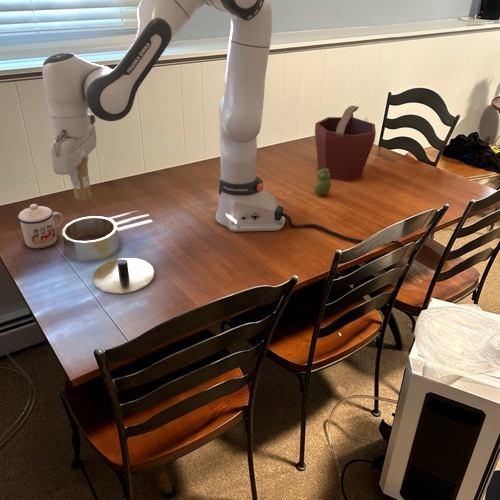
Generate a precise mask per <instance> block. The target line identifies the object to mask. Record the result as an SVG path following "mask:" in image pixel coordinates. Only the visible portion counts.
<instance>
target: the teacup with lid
mask: <svg viewBox="0 0 500 500" xmlns="http://www.w3.org/2000/svg"><path fill="white" fill-rule="evenodd" d="M55 216H58V222H57V223H56V224H55V220H54V217H55ZM17 219H18V220H19V223H20V227H21V231H22V235H23V239H24V243H25V245H26V246H27V247H29V248H31V249H44V248H47V247H51V246H52V245H54V244H55V243H56V242H57V239H58V236H57V229H59V228H60V227H61V226H62V224H63V221H64V216H63V214H62V213H61V212H58V211H54V212H53V210H52V209H51V208H50V207H48V206H44V205H38V204H37V203H32V204H30V205H29V207H26V208H24V209H22V210H21V211H19V214H18V215H17Z"/></svg>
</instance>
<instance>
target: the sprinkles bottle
mask: <svg viewBox="0 0 500 500" xmlns="http://www.w3.org/2000/svg"><path fill="white" fill-rule="evenodd" d="M80 153H81V158H82V162H81V163H80V164H79V165H78V166H77V167H76V168H77V170H76V172H77V174H79V176H80V177H79V178H80V180H79V181H78V182H77V183H73V182H71V183H72V188H73V192H74V198H75V199H76V200H80V201H85V200H89V199H91V198H92V196H93V193H92V189H91V182H90V181H91V180H90V176H89V169H88V170H87V167H88V165H86V160H85V149H84V148H83V149H82V150H81V151H80Z"/></svg>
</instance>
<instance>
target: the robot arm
mask: <svg viewBox="0 0 500 500" xmlns="http://www.w3.org/2000/svg"><path fill="white" fill-rule="evenodd" d="M204 5H208V6H210V7H212V8H214V9H215V10H218V11H220V12H223V13H228V15H229V19H230V32H229V38H228V46H227V54H226V62H225V71H224V72H225V74H224V75H225V76H224V92H223V96H222V97H221V99H220V102H219V107H218V112H219V113H218V115H219V116H218V118H219V120H218V121H219V149H220V150H219V151H220V158H219V159H220V170H219V171H220V174H219V177H218V194H219V198H218V204H217V209H216V213H215V215H214V218H215V220H216V222H217V223H219V224H220V225H222V226H224V227H226V228H227V229H229V231H231V232H237V233H238V232H241V233H242V232H267V231H268V232H269V231H280V230H281V229H283V228H284V227H285V223H286V220H287V222H288V225H289V227H291V228H292V229H301V228H302V229H303V228H315V229H319V230H321V231H323V232H326V233H328V234H329V235H333V236H335V237H338V238H340V239H343V240H346V241H349V242H353V243H359V244H360V242H362V241H363V240H364V239H359V238H353V237H350V236H347V235H343V234H341V233H338V232H336V231H333V230H331V229H328V228H326V227H324V226H322V225H319V224H315V223H304V224H299V225H297V224H294V223H292V217H290V216H289V215H288V214H286V213H285V211H284V208H285V207H284V206H280V205H279V203H278V200H277V198H276V197H275V195H274V194H272V193H271V192H269V191H268V190H266V189H265V188H264V182H263V177H262V176H260V177H259V176H258V175H257V169H258V167H257V165H258V141H257V138H258V135H259V134H260V132H261V129H262V128H261V127H262V123H263V122H262V120H263V111H264V102H265V101H264V100H265V88H266V86H265V85H266V75H267V68H268V63H269V57H270V56H269V55H270V50H271V49H270V48H271V44H272V43H271V42H272V34H273V8H272V5H271V3H270V2H269V1H268V0H141V1H140V3H139V5H138V7H137V22H138V23H137V25H138V26H137V27H138V29H137V33H136V37H135V39H134V41H133V42H132V43H131V45H130V47H129V48H128V49H127V51H125V53H124V55H123V56H122V58H121V59H120V60H119V62H118V63H117V65H116V66H115V67H114V68H113V69H112V68H110V67H108V66H105V65H101V64H97V63H93V62H90V61H87V60H85V59H83V58H81V57H79V56H77V55H76V54H75V53H72V52H61V53H57V54H54V55H51V56H49V57H47V58H46V59H45V60H44V62H43V64H42V68H41V69H42V70H41V71H42V72H41V73H42V83H43V88H44V93H45V97H46V100H47V102H48V105H49V109H48V115H49V119H50V124H51V130H52V133H53V135H55V136H54V139H53V140H54V141H53V142H52V143H51V145H50V156H51V165H52V170H53V172H54V173H55V174H56V175H62V176H69V178H70V182H71V183H72V182H73V183H77V182H78V181H79V180H80V178H79V177H80V176H79V174H77V172H76V170H77V168H76V167H77V166H78V165H79V164H80V163H81V162H82V158H81V153H80V151H81V150H82V149H83V148H84V149H85V160H86V165H87V170H88V171H89V167H88V163H89V155H90V154H91V153H92V152H93V151H94V150H95V149H96V148H97V144H98V143H97V142H98V140H97V130H96V125H95V124H96V122H97V119H96V118H98V119H100V120H102V121H106V122H117V121H120V120H123V119H124V118H125V117H126V116H127V115H129V113H130V112H131V111H132V109H133V106H134V102H135V98H136V95H137V92H138V91H139V88H140V87H141V85H142V83H143V82H144V80H145V79H146V78H147V76H148V74H149V73H150V72H151V71H152V70H153V68H154V66H155V65H156V63H158V61H159V59H160V58H161V56H163V53H164V52H165V51H166V49H167V48H168V47H169V45H170V44H171V42H172V41H173V40H174V39H175V38H176V36H178V34H179V33H180V31H182V29H183V28H184V27H185V26H186V25H187V23H188V22H189V21H190V19H191V18H192V17H193V16H194V14H195V13H196V11H197V10H199V8H201V7H202V6H204ZM88 109H89V110H90V112H91V113H89V112H88ZM389 244H395V245H398V246H399V247H400V248H403V247H404V248H405V245H404V244H403V243H402V242H401V241H399V240H396V241H392V242H390V243H389Z"/></svg>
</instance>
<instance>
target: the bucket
mask: <svg viewBox="0 0 500 500" xmlns="http://www.w3.org/2000/svg"><path fill="white" fill-rule="evenodd" d="M359 108H360V106H358V105H357V106H356V105H350V106H348V107H347V108H345V110H344V112H343V114H342V115H341V116H340V117H339V116H327V117H326V118H324V119H321V120H319V121H317V122H316V123H315V125H314V136H315V147H316V149H315V150H316V159H317V169H318V171H319V170H321V169H323V168H327V169H329V173H330V179H332V180H337V181H342V182H347V181H352V180H356V179H360V178H361V177H362V175H363V172H364V170H365V167H366V164H367V162H368V159H369V157H370V153H371V151H372V148H373V146H374V143H375V139H376V134H377V131H376V124H375V123H373V122H369V121H366V120H363V119H360V118H356V117H354V113H355V112H356V111H358V109H359Z"/></svg>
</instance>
